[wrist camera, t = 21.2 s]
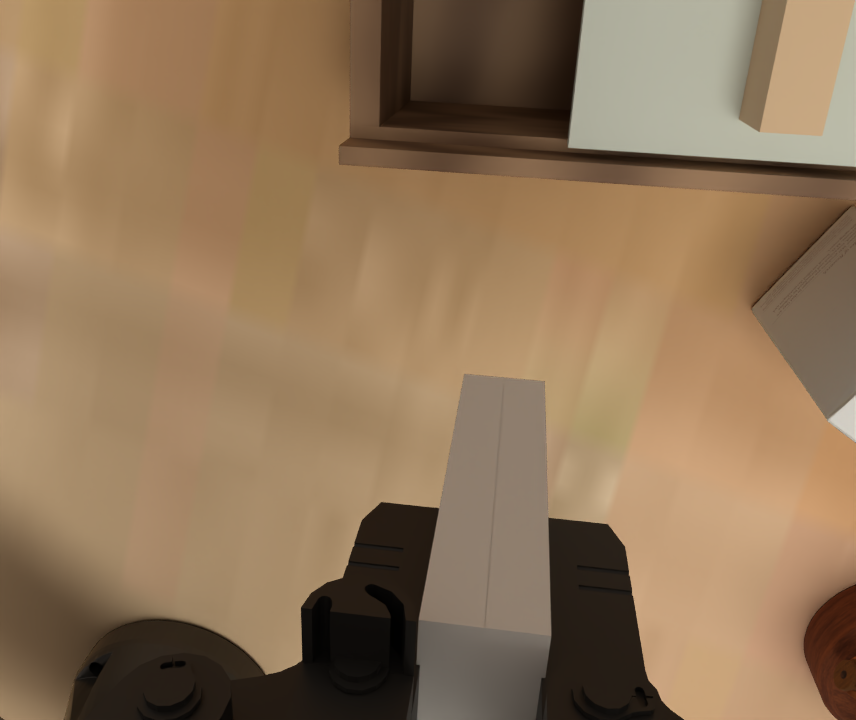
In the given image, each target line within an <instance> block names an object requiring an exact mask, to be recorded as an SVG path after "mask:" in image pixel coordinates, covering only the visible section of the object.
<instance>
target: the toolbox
mask: <svg viewBox="0 0 856 720" xmlns="http://www.w3.org/2000/svg"><path fill="white" fill-rule="evenodd" d="M583 1H584V0H350V138H349V139H347V140H346V141H345V142H343V143H342V144H341V145H340V146H339V164H340V165H354V166H368V167H383V168H397V169H412V170H426V171H440V172H455V173H469V174H484V175H498V176H512V177H527V178H541V179H556V180H570V181H585V182H599V183H613V184H628V185H642V186H657V187H671V188H685V189H700V190H714V191H729V192H743V193H757V194H772V195H786V196H801V197H815V198H829V199H844V200H856V167H853V166H838V165H823V164H808V163H792V162H777V161H762V160H747V159H732V158H716V157H701V156H686V155H671V154H656V153H640V152H625V151H610V150H595V149H580V148H568V145H567V141H568V132H569V123H570V114H571V106H572V97H573V88H574V79H575V71H576V62H577V53H578V44H579V36H580V27H581V18H582V9H583Z"/></svg>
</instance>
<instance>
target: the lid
mask: <svg viewBox="0 0 856 720" xmlns="http://www.w3.org/2000/svg"><path fill="white" fill-rule="evenodd" d="M567 145H568V148H580V149H595V150H610V151H625V152H640V153H656V154H671V155H686V156H701V157H716V158H732V159H747V160H762V161H777V162H792V163H808V164H823V165H838V166H853V167H856V0H584V1H583V9H582V18H581V27H580V36H579V44H578V53H577V62H576V71H575V79H574V88H573V97H572V106H571V114H570V123H569V132H568V141H567Z"/></svg>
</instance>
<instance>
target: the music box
mask: <svg viewBox="0 0 856 720" xmlns="http://www.w3.org/2000/svg"><path fill="white" fill-rule="evenodd" d="M804 653H805V658H806V661H807V663H808V666H809V668H810V671H811V673H812V676H813V678H814V680H815V683H816V685H817V688H818V690H819V693H820V695H821V698H822V700H823V702H824V704H825V706H826V707H827V709H828V710H829V711H830V713H831V714H832V715H833V716H834V717H835V718H836V719H837V720H856V585H855V586H852V587H850V588H848V589H846V590H844V591H842V592H840V593H839V594H837V595H836V596H834V597H833V598H831V599H830V600H829V601H828V602H827V603H825V604H824V605H823V606H822V607H821V608H820V609H819V610H818V612H817V613H816V614H815V616H814V617H813V619H812V620H811V622H810V624H809V626H808V628H807V631H806V634H805V640H804Z"/></svg>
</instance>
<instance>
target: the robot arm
mask: <svg viewBox="0 0 856 720" xmlns="http://www.w3.org/2000/svg"><path fill="white" fill-rule="evenodd" d="M301 623H302V661H301V662H299V663H298V664H297V665H295V666H292V667H290V668H288V669H285V670H283V671H281V672H277V673H273V674H268V675H264V674H263V672H262V671H261V670H260V669H259V667H258V666H257V665H256V664H255V663H254V662H253V661H252V660H251V659H250V658H249V657H248V656H247V655H246V654H245V653H244V652H242V651H241V650H240V649H239V648H237V647H236V646H234V645H233V644H231V643H230V642H228V641H227V640H225V639H223V638H221V637H219V636H218V635H216V634H213V633H211V632H209V631H206V630H204V629H201V628H198V627H195V626H192V625H188V624H183V623H178V622H172V621H142V622H136V623H132V624H128V625H125V626H122V627H120V628H117V629H115V630H113V631H112V632H110V633H108V634H107V635H106V636H104V637H103V638H102V639H101V640H100V641H99V642H98V643H97V644H96V645H95V647H94V648H93V650H92V651H91V653H90V654H89V656H88V657H87V659H86V660H85V661H84V663H83V664H82V666H81V667H80V669H79V671H78V673H77V675H76V677H75V680H74V682H73V686H72V690H71V694H70V698H69V702H68V706H67V710H66V714H65V718H64V720H684V719H682V718H681V717H680V716H678V715H677V714H675V713H674V712H673V711H671V710H670V709H669V708H668V707H667V706H666V705H665V704H664V703H663V702H662V701H661V698H660V696H659V694H658V691H657V689H656V688H655V687H654V686H653V685H652V684H651V683H650V682H649V681H648V678H647V675H646V672H645V666H644V660H643V654H642V648H641V642H640V636H639V630H638V624H637V618H636V611H635V605H634V599H633V596H632V587H631V581H630V576H629V569H628V562H627V556H626V550H625V546H624V545H623V544H622V542H621V541H620V540H619V538H618V537H617V536H616V534H615V533H614V532H613V530H612V529H611V528H610V527H609V525H608V524H600V523H591V522H582V521H572V520H563V519H554V518H548V489H547V450H546V412H545V381H536V380H525V379H514V378H504V377H493V376H482V375H471V374H464V378H463V384H462V389H461V395H460V400H459V405H458V411H457V416H456V421H455V427H454V432H453V438H452V443H451V448H450V454H449V459H448V465H447V470H446V475H445V481H444V486H443V491H442V497H441V502H440V508H431V507H421V506H412V505H403V504H393V503H384V502H381V503H380V504H379V505H378V506H377V507H376V508H375V509H373V510H372V511H371V512H370V513H369V514H368V515H367V516H366V517H365V518H364V519H363V520H362V522H361V525H360V528H359V531H358V534H357V537H356V540H355V545H354V547H353V549H352V552H351V555H350V558H349V563H348V566H347V567H346V570H345V573H344V576H343V578H341V579H338V580H334V581H331V582H328V583H326V584H324V585H323V586H321V587H320V588H318V589H317V590H315V591H314V592H312V593H311V594H310V595H309V597H308V598H307V600H306V601H305V603H304V604H303V606H302V607H301ZM0 720H4V719H3V718H1V717H0Z"/></svg>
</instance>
